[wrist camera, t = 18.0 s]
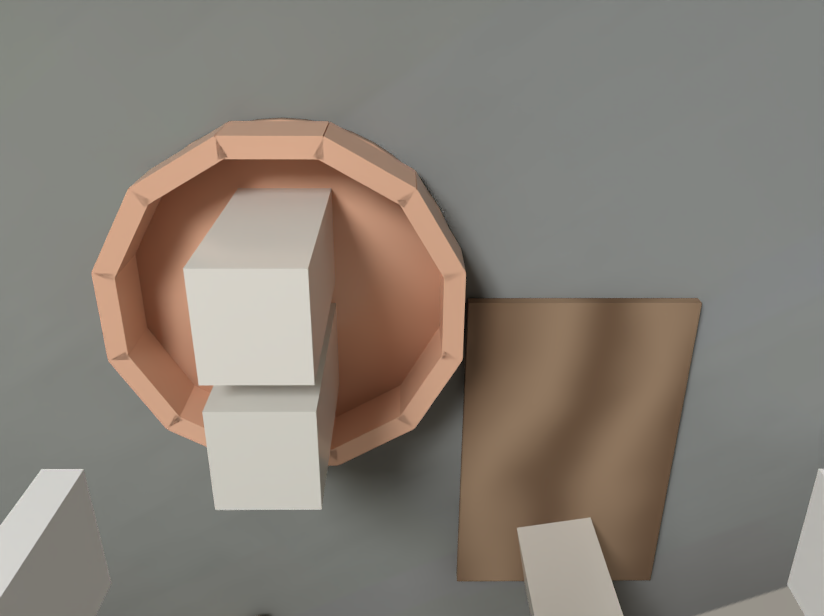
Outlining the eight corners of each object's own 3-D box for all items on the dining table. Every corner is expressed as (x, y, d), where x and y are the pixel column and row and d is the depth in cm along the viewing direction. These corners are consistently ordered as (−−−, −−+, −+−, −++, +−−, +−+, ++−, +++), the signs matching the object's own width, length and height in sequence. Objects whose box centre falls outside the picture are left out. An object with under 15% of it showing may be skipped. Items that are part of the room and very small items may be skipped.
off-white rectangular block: (336, 303, 38) (316, 411, 29) (339, 384, 40) (321, 509, 31) (249, 303, 38) (202, 412, 29) (256, 384, 40) (215, 509, 31)
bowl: (464, 118, 35) (471, 136, 32) (453, 423, 43) (458, 465, 39) (98, 117, 35) (64, 135, 32) (150, 424, 42) (128, 466, 39)
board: (697, 298, 39) (701, 303, 39) (647, 573, 48) (650, 580, 47) (468, 298, 39) (468, 303, 39) (456, 573, 47) (457, 581, 47)
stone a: (331, 188, 36) (307, 268, 27) (335, 281, 38) (314, 385, 29) (238, 188, 36) (183, 268, 27) (247, 281, 38) (198, 385, 29)
